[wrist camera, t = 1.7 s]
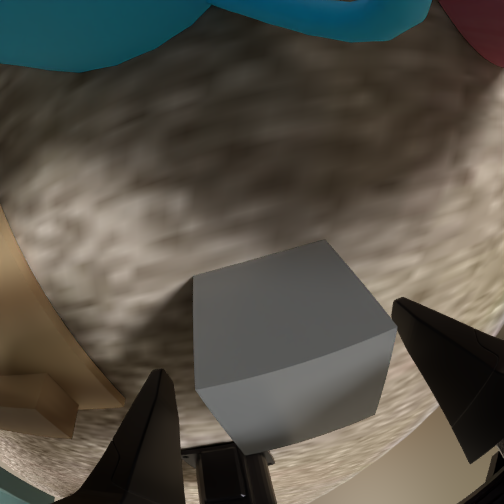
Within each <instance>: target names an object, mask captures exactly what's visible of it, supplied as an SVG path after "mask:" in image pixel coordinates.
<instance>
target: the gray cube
mask: <svg viewBox="0 0 504 504" xmlns="http://www.w3.org/2000/svg"><path fill="white" fill-rule="evenodd" d="M396 332H397V325H396V324H395V323H394V322H393V320H392V319H391V318H390V316H389V315H388V314H387V313H386V311H385V310H384V309H383V308H382V306H381V305H380V304H379V303H378V301H377V300H376V299H375V298H374V296H373V295H372V294H371V293H370V292H369V290H368V289H367V288H366V287H365V285H364V284H363V283H362V282H361V281H360V279H359V278H358V277H357V276H356V275H355V274H354V272H353V271H352V270H351V269H350V268H349V266H348V265H347V264H346V263H345V262H344V261H343V259H342V258H341V257H340V256H339V255H338V254H337V253H336V251H335V250H334V249H333V248H332V247H331V246H330V245H329V243H328V242H327V241H326V240H325V239H324V240H321V241H317V242H314V243H310V244H307V245H303V246H300V247H296V248H292V249H289V250H285V251H282V252H278V253H275V254H271V255H267V256H264V257H260V258H257V259H253V260H249V261H246V262H242V263H239V264H235V265H231V266H228V267H224V268H220V269H217V270H213V271H209V272H206V273H202V274H198V275H195V276H193V343H194V375H195V390H196V392H197V393H198V395H199V396H200V398H201V399H202V400H203V402H204V403H205V405H206V406H207V407H208V409H209V410H210V411H211V413H212V414H213V415H214V417H215V418H216V419H217V421H218V422H219V423H220V425H221V426H222V427H223V429H224V430H225V431H226V432H227V434H228V435H229V436H230V437H231V439H232V440H233V441H234V442H235V444H236V445H237V446H238V447H239V448H240V450H241V451H242V452H243V453H244V454H245V455H250V454H255V453H260V452H264V451H268V450H272V449H277V448H280V447H284V446H288V445H292V444H295V443H299V442H302V441H305V440H309V439H312V438H315V437H318V436H321V435H324V434H327V433H330V432H332V431H335V430H338V429H341V428H343V427H346V426H349V425H351V424H354V423H356V422H359V421H361V420H363V419H366V418H368V417H370V416H373V415H375V413H376V410H377V407H378V404H379V400H380V397H381V394H382V390H383V387H384V383H385V380H386V376H387V372H388V368H389V364H390V360H391V356H392V351H393V347H394V342H395V337H396Z"/></svg>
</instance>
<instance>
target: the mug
mask: <svg viewBox="0 0 504 504" xmlns="http://www.w3.org/2000/svg"><path fill="white" fill-rule="evenodd" d="M431 3H432V0H356V1H352V2H346V1H336V0H0V64H9V65H18V66H25V67H32V68H38V69H44V70H49V71H64V72H76V73H81V72H86V71H90V70H95V69H100V68H105V67H110V66H116V65H118V64H121V63H123V62H125V61H127V60H129V59H132V58H134V57H136V56H139V55H141V54H144V53H146V52H149V51H151V50H154V49H156V48H157V47H159V46H160V45H162V44H163V43H165V42H166V41H168V40H169V39H171V38H172V37H174V36H175V35H177V34H178V33H180V32H182V31H183V30H185V29H186V28H188V27H190V26H191V25H192V24H193V23H194V22H195V21H196V20H197V19H198V18H199V17H200V16H201V15H202V14H203V13H204V12H205V11H206V10H207V9H208V8H209V7H210V6H211V5H214V6H217V7H220V8H222V9H225V10H228V11H231V12H234V13H238V14H241V15H244V16H247V17H250V18H253V19H256V20H259V21H262V22H265V23H268V24H271V25H275V26H279V27H283V28H286V29H290V30H293V31H297V32H300V33H303V34H306V35H311V36H318V37H324V38H329V39H335V40H340V41H345V42H350V43H352V42H371V41H389V40H391V39H393V38H395V37H397V36H398V35H400V34H402V33H403V32H405V31H407V30H409V29H410V28H412V27H414V26H416V25H417V24H419V23H421V22H423V21H424V19H425V18H426V17H427V14H428V11H429V8H430V6H431Z"/></svg>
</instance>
